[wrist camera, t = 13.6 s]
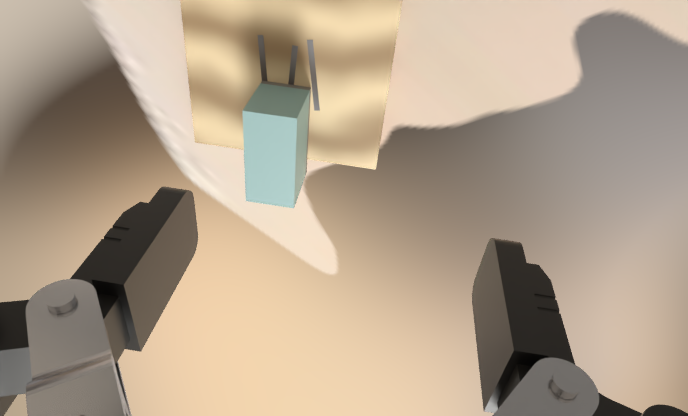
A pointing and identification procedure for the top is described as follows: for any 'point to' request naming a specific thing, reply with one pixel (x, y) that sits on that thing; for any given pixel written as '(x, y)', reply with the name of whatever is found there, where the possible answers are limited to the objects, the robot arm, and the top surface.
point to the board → (293, 68)
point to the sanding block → (276, 143)
